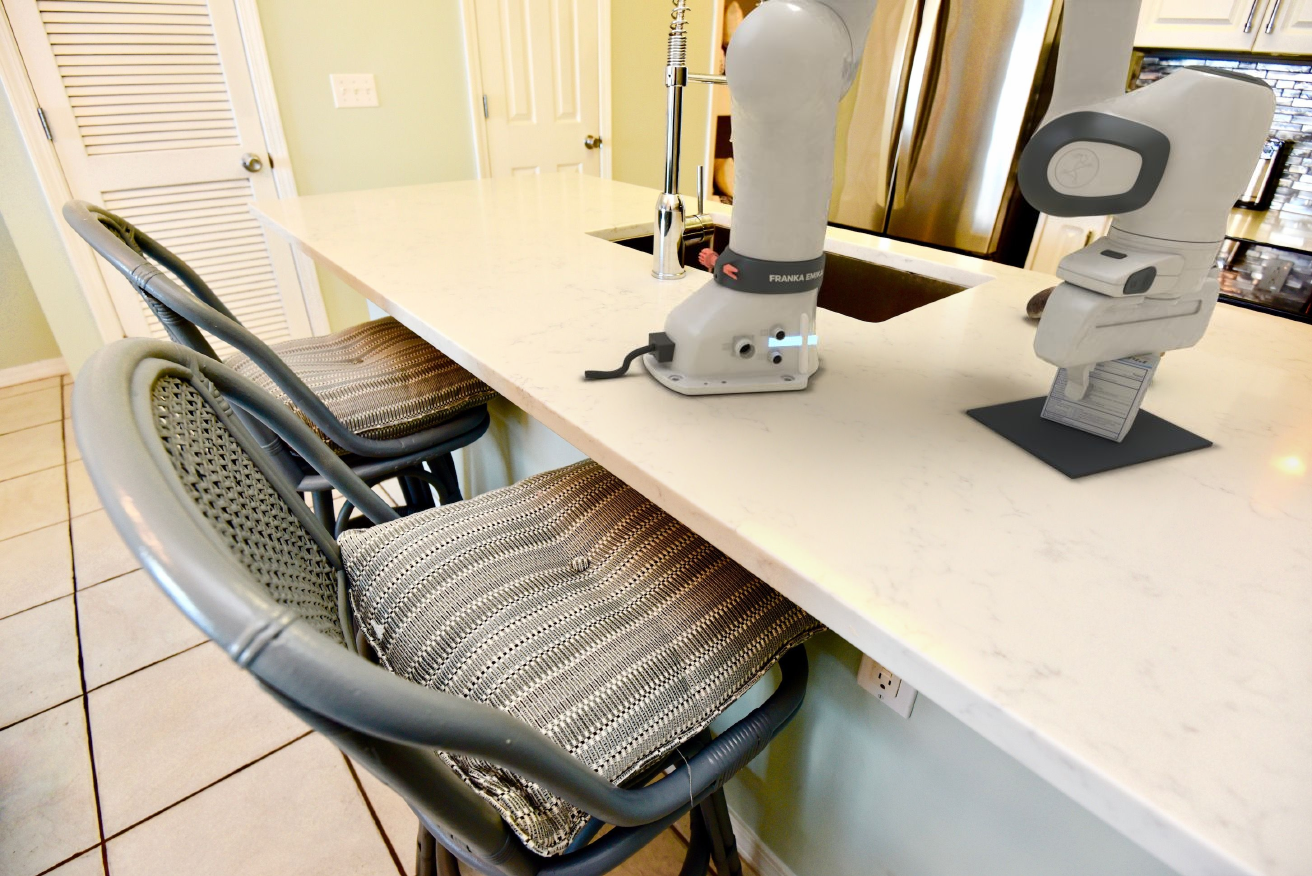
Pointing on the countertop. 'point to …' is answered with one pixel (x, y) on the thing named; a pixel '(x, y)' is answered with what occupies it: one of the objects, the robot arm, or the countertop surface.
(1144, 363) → the medicine box
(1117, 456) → the cloth
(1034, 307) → the mushroom
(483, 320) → the countertop surface
